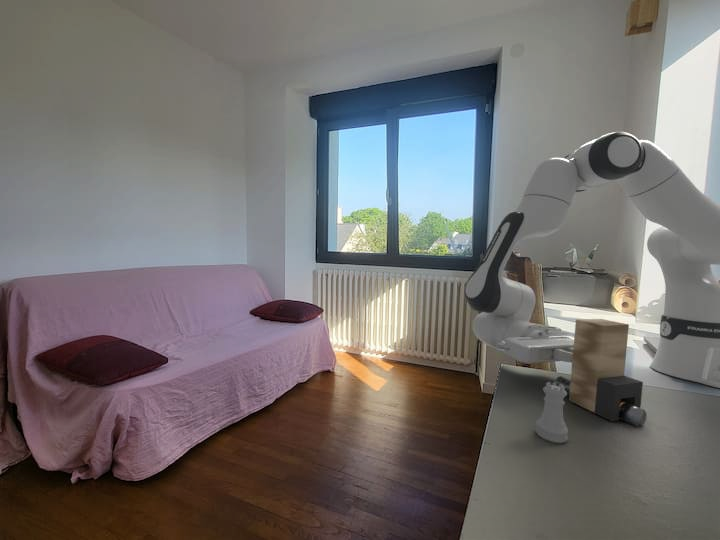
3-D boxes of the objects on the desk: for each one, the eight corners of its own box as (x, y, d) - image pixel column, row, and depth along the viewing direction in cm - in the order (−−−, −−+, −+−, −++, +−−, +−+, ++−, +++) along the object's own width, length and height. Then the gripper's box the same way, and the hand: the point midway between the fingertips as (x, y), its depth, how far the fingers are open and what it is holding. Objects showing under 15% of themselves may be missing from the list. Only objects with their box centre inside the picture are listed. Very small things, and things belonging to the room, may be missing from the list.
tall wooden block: (568, 400, 64) (575, 319, 63) (594, 397, 66) (601, 318, 66) (594, 412, 59) (602, 325, 59) (620, 408, 62) (628, 324, 61)
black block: (594, 412, 59) (597, 378, 59) (621, 408, 62) (624, 375, 61) (612, 421, 57) (615, 385, 56) (639, 416, 59) (642, 381, 59)
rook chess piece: (566, 448, 48) (571, 394, 48) (532, 436, 51) (536, 385, 50) (569, 435, 52) (574, 385, 51) (537, 425, 54) (541, 377, 54)
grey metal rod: (553, 391, 69) (555, 376, 69) (564, 389, 70) (565, 375, 70) (633, 427, 55) (635, 410, 55) (645, 425, 56) (647, 408, 56)
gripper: (492, 329, 74) (546, 347, 61) (560, 326, 81) (621, 342, 68) (490, 357, 75) (543, 380, 62) (558, 352, 82) (618, 372, 69)
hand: (585, 360), depth 65 cm, fingers closed, pressing on tall wooden block
